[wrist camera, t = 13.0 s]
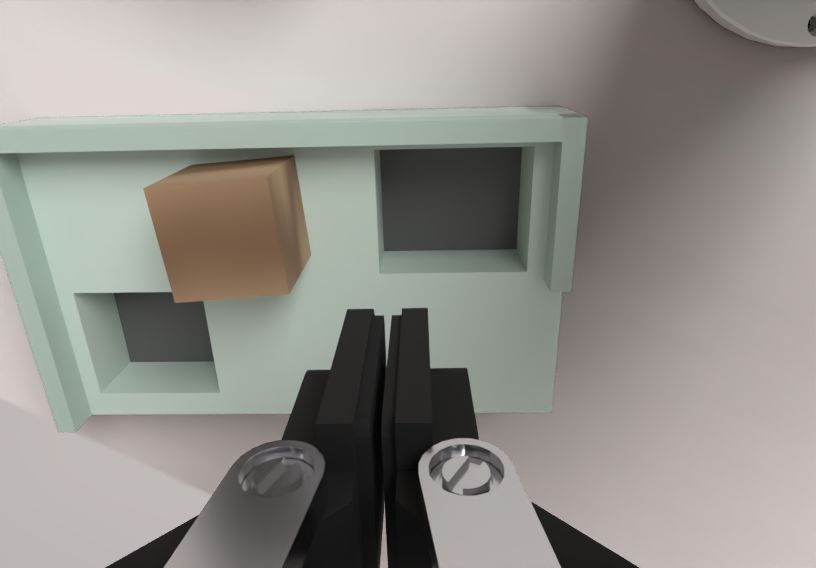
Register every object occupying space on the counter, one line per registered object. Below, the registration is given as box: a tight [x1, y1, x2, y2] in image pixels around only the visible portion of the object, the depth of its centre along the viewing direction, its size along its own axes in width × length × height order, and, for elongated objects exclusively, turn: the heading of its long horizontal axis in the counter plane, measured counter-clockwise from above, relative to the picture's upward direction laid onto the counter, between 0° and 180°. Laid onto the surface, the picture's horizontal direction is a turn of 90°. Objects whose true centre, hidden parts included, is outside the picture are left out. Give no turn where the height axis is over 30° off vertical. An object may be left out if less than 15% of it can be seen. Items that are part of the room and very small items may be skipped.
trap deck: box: [0, 106, 588, 432], centre depth 24 cm, size 13×22×4 cm, turn 91°
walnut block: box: [143, 155, 311, 303], centre depth 20 cm, size 4×4×4 cm
